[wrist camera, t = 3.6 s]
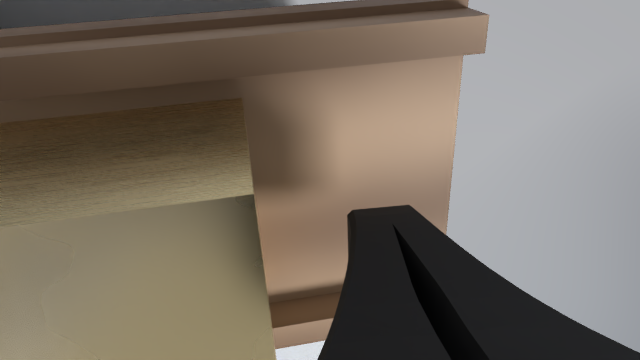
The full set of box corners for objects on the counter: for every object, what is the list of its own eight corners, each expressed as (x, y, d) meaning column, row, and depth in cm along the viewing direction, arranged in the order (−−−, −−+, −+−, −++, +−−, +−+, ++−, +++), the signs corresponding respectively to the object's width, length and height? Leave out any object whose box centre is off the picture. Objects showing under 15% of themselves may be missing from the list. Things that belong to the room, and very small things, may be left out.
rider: (266, 283, 13) (285, 429, 10) (62, 315, 13) (-8, 488, 9) (242, 97, 11) (253, 193, 7) (-19, 124, 10) (-169, 249, 6)
